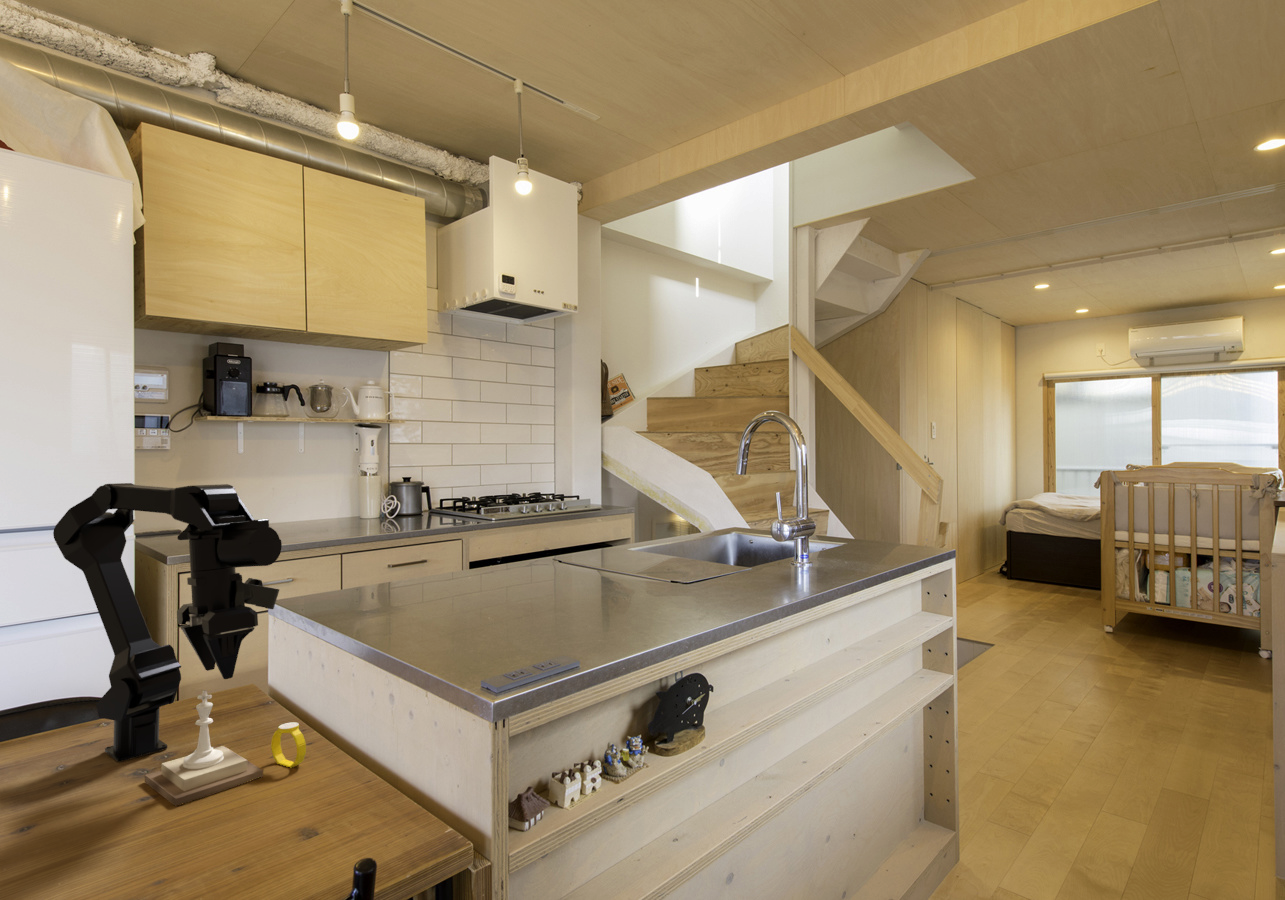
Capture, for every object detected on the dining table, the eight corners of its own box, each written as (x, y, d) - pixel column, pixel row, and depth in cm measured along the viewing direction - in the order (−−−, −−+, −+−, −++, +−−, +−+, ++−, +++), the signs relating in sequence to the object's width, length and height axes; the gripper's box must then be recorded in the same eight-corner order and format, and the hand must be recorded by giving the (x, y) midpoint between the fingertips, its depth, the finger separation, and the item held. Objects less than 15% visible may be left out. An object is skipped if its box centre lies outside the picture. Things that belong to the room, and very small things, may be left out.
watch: (266, 766, 105) (265, 725, 105) (283, 759, 107) (282, 719, 108) (294, 772, 102) (293, 730, 103) (310, 764, 105) (309, 724, 105)
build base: (144, 782, 99) (145, 764, 99) (228, 756, 107) (229, 739, 107) (175, 806, 92) (176, 787, 92) (262, 777, 101) (263, 759, 101)
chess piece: (213, 768, 98) (214, 696, 98) (175, 769, 97) (176, 697, 97) (230, 753, 102) (231, 684, 103) (194, 754, 102) (195, 685, 102)
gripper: (292, 562, 104) (299, 669, 104) (252, 559, 117) (257, 653, 117) (206, 574, 96) (213, 689, 96) (173, 569, 109) (179, 670, 109)
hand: (219, 674), depth 104 cm, fingers open, 9 cm apart
